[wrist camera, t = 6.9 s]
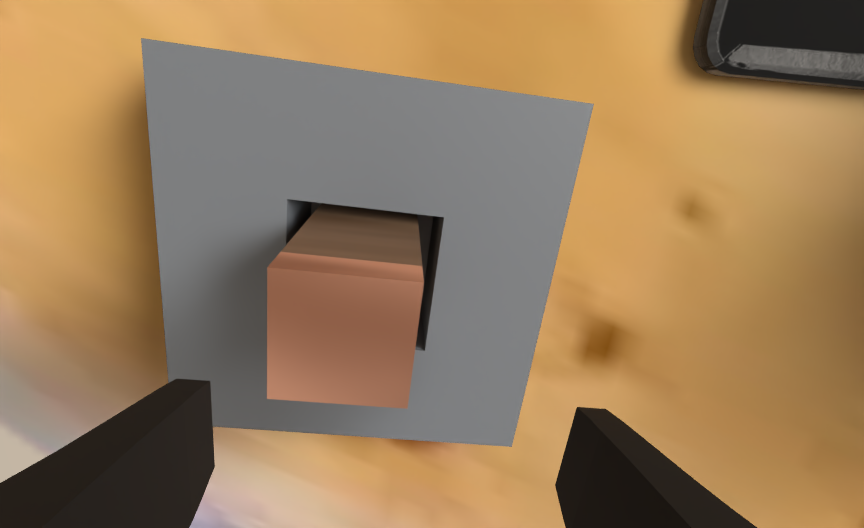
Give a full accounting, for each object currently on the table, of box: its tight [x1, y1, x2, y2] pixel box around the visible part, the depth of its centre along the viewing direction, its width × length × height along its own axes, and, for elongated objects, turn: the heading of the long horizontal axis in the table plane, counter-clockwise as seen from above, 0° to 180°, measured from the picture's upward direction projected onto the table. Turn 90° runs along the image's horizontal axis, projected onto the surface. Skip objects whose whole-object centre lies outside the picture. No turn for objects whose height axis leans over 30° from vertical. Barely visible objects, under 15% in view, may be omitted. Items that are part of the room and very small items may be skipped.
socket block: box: [141, 38, 594, 447], centre depth 16 cm, size 12×12×4 cm
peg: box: [267, 203, 424, 409], centre depth 13 cm, size 3×3×8 cm
